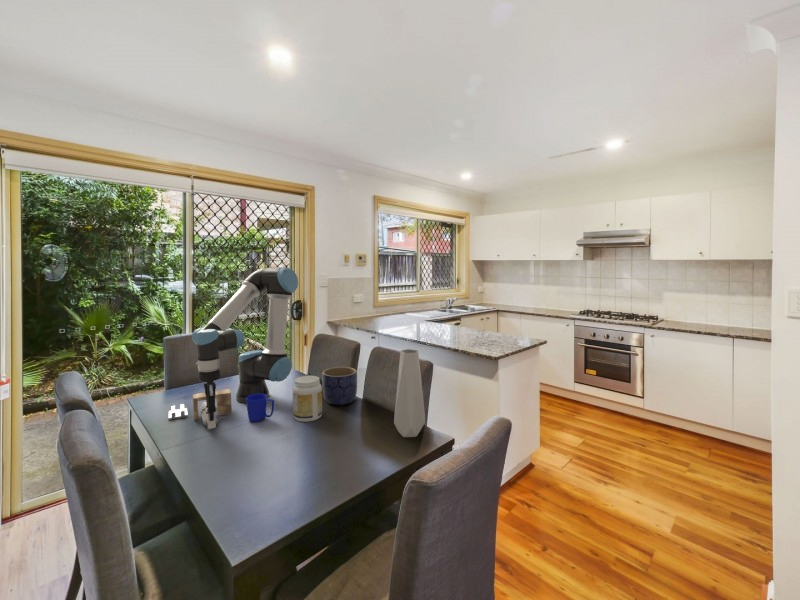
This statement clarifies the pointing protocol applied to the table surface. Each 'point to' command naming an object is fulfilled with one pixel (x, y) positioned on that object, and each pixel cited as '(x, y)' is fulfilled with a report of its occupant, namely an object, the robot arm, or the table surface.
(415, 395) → the vase
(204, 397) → the wooden block with opening
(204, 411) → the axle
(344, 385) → the planter
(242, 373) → the robot arm
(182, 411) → the v block
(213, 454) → the table surface
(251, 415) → the mug
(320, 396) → the supplement tub
